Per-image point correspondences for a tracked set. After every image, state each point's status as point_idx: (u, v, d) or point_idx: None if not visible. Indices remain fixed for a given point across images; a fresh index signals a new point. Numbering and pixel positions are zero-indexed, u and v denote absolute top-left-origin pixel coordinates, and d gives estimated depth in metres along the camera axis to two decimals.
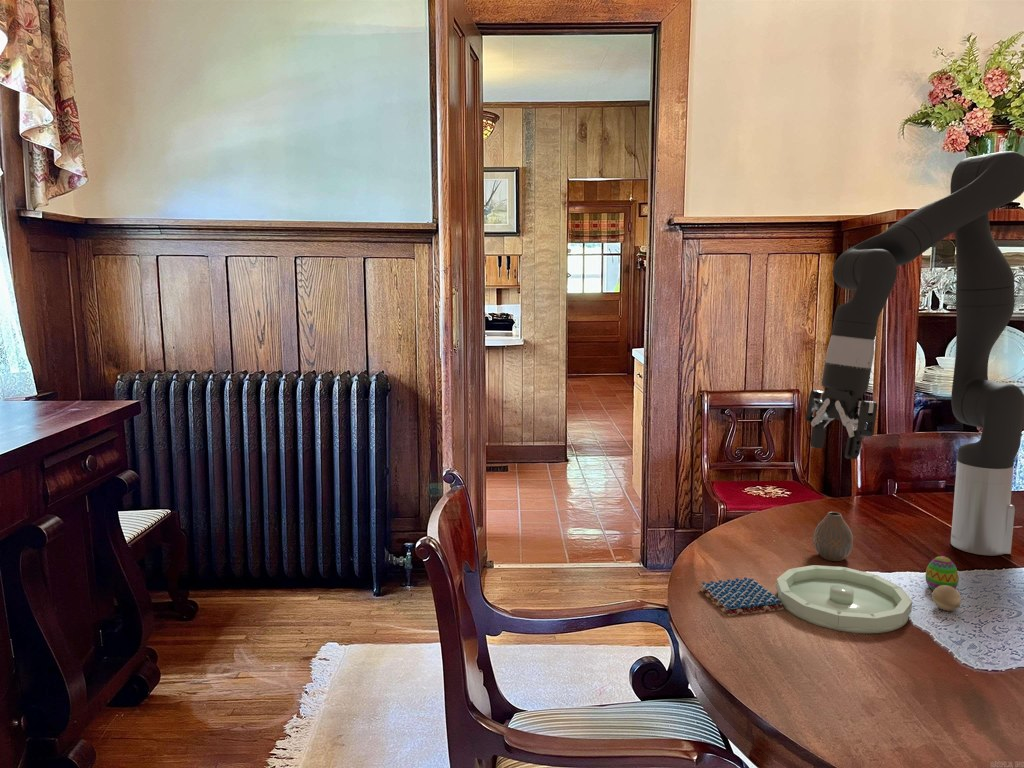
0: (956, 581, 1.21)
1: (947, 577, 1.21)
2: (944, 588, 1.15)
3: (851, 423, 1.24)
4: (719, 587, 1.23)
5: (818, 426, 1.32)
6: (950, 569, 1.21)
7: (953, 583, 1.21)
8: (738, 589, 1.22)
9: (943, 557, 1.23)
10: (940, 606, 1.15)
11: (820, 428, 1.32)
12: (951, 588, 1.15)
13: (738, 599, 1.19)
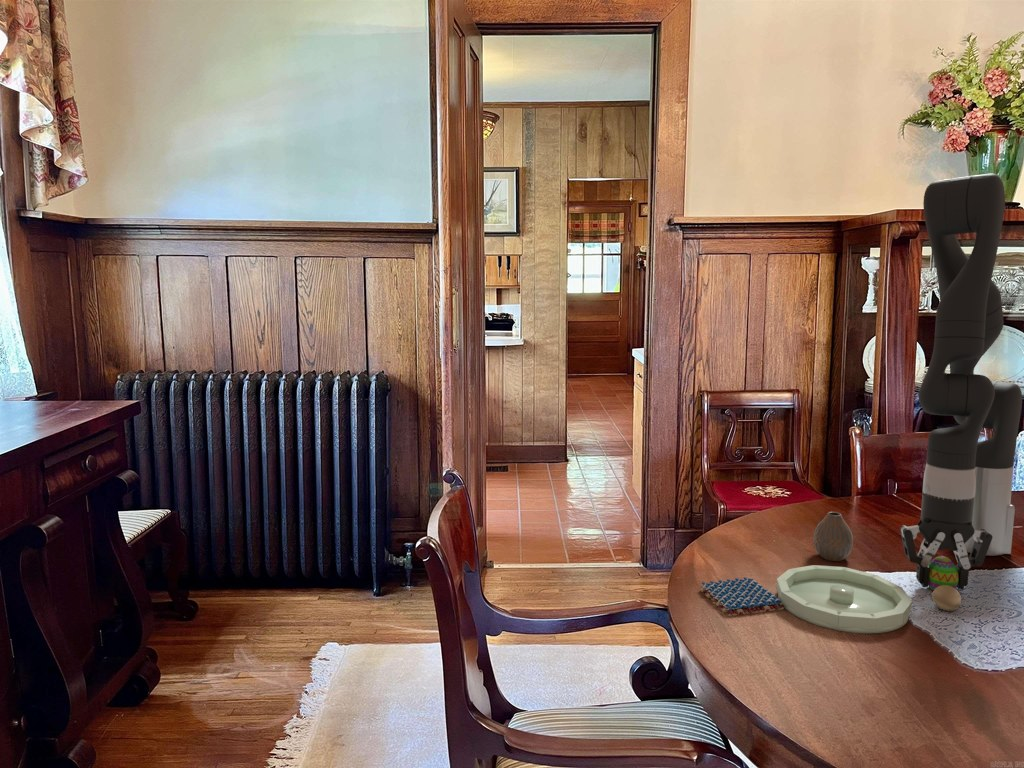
0: (956, 581, 1.21)
1: (947, 577, 1.21)
2: (944, 588, 1.15)
3: None
4: (719, 587, 1.23)
5: None
6: (950, 569, 1.21)
7: (953, 583, 1.21)
8: (738, 589, 1.22)
9: (943, 557, 1.23)
10: (940, 606, 1.15)
11: None
12: (951, 588, 1.15)
13: (738, 599, 1.19)
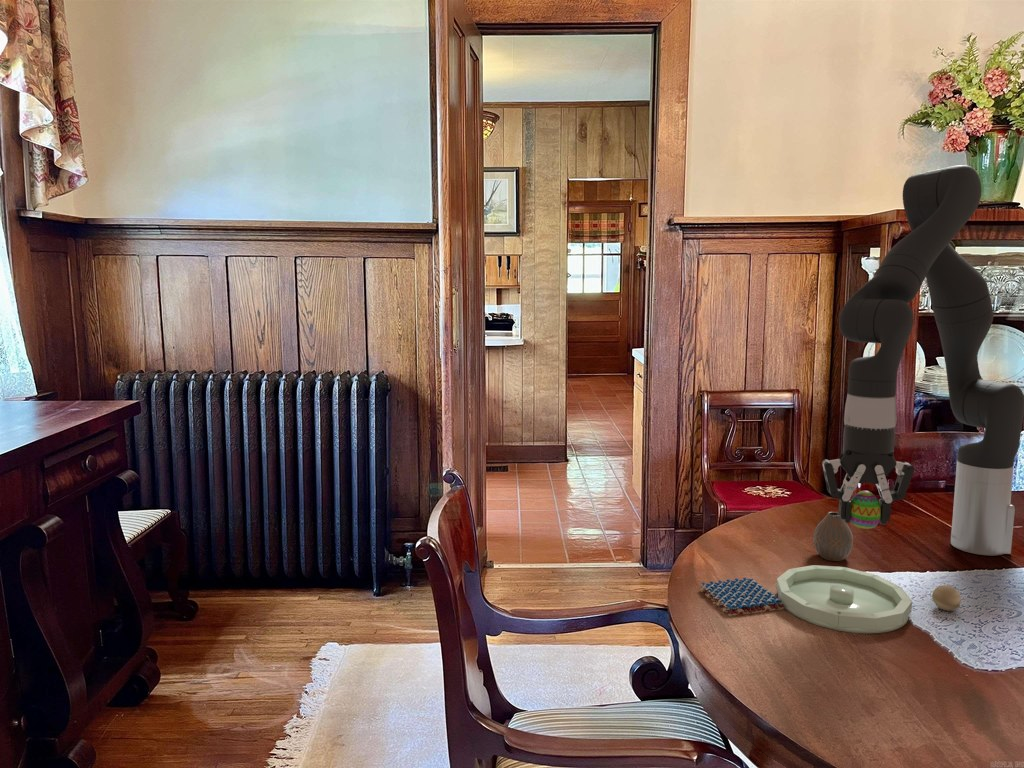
0: (878, 515, 1.17)
1: (868, 511, 1.17)
2: (944, 588, 1.15)
3: (888, 488, 1.17)
4: (719, 587, 1.23)
5: None
6: (871, 503, 1.17)
7: (875, 517, 1.17)
8: (738, 589, 1.22)
9: (865, 491, 1.19)
10: (940, 606, 1.15)
11: (849, 500, 1.19)
12: (951, 588, 1.15)
13: (738, 599, 1.19)
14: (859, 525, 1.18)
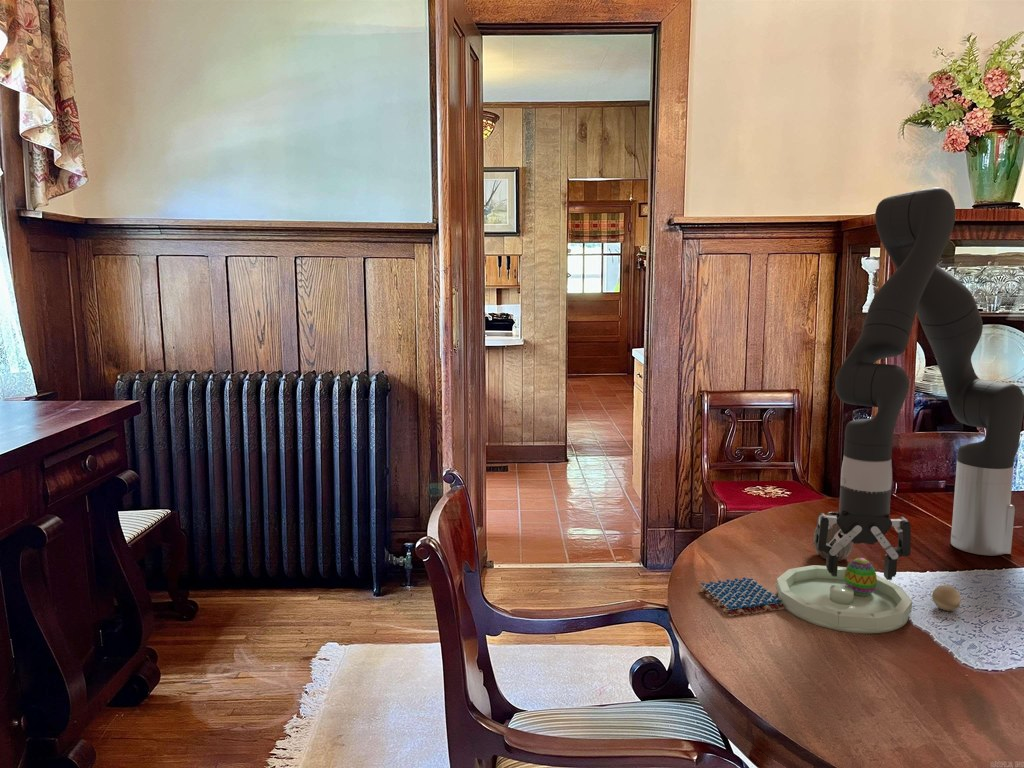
0: (873, 583, 1.19)
1: (864, 579, 1.19)
2: (944, 588, 1.15)
3: None
4: (719, 587, 1.23)
5: None
6: (867, 571, 1.19)
7: (870, 585, 1.19)
8: (738, 589, 1.22)
9: (861, 559, 1.20)
10: (940, 606, 1.15)
11: (836, 554, 1.21)
12: (951, 588, 1.15)
13: (739, 599, 1.19)
14: (855, 592, 1.20)
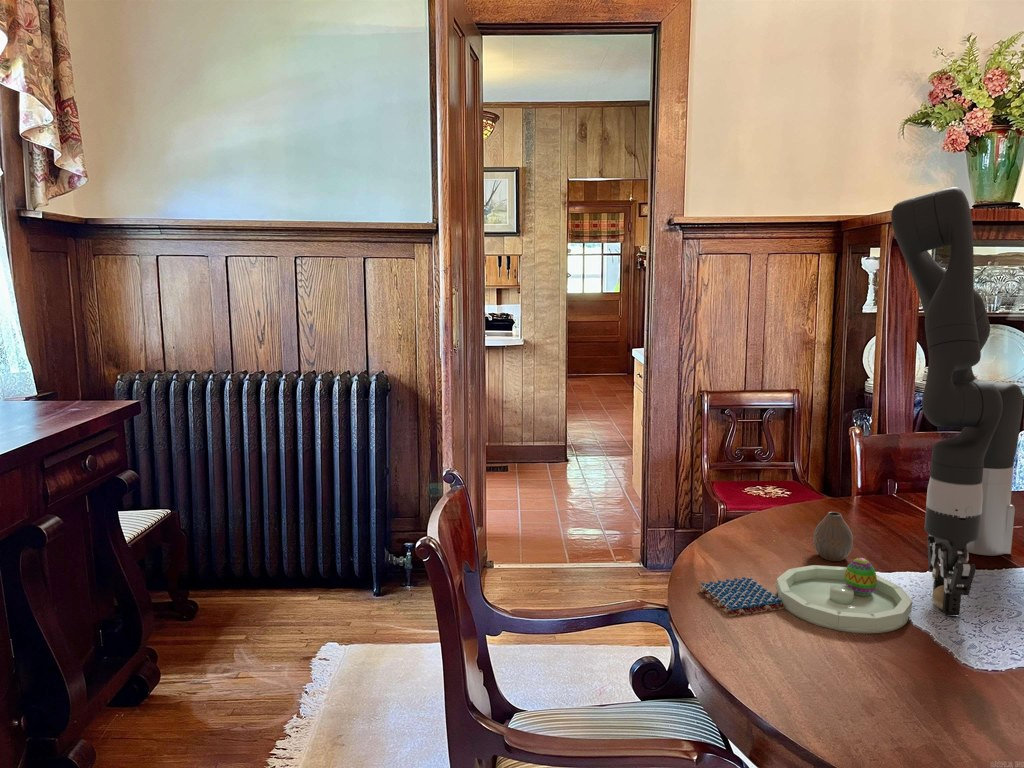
0: (873, 583, 1.19)
1: (864, 579, 1.19)
2: None
3: None
4: (719, 587, 1.23)
5: None
6: (867, 571, 1.19)
7: (870, 585, 1.19)
8: (738, 589, 1.22)
9: (861, 559, 1.20)
10: (940, 606, 1.15)
11: None
12: None
13: (739, 599, 1.19)
14: (855, 592, 1.20)
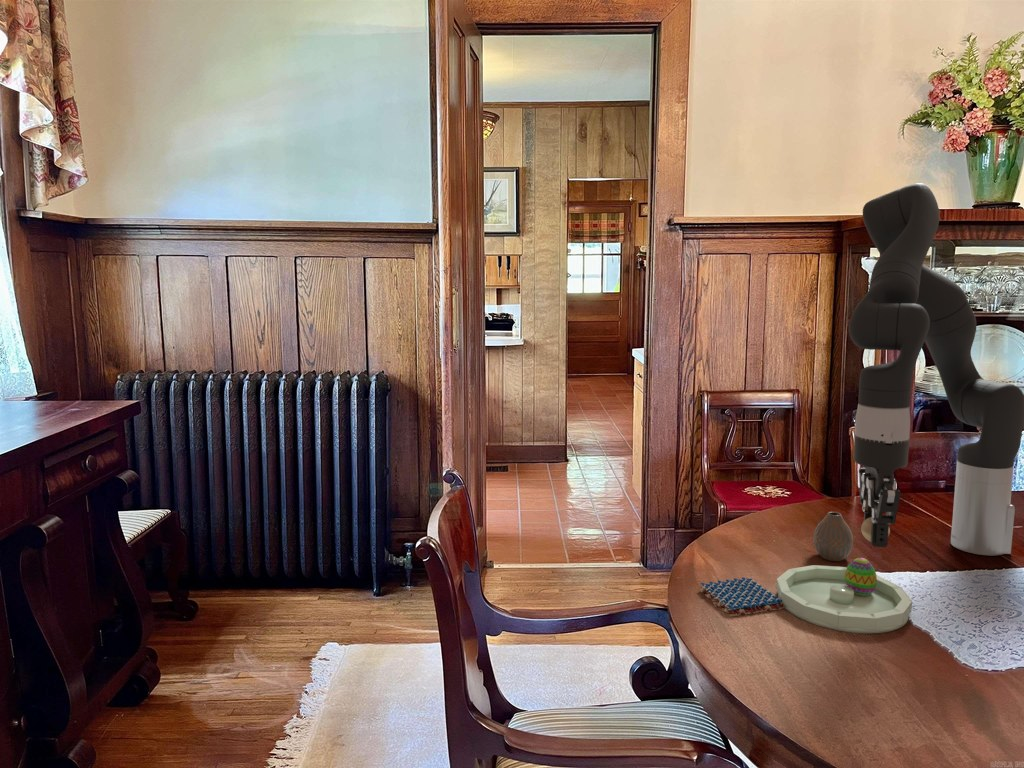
0: (873, 583, 1.19)
1: (864, 579, 1.19)
2: None
3: None
4: (719, 587, 1.23)
5: None
6: (867, 571, 1.19)
7: (870, 585, 1.19)
8: (738, 589, 1.22)
9: (861, 559, 1.20)
10: (868, 538, 1.12)
11: None
12: None
13: (739, 599, 1.19)
14: (855, 592, 1.20)
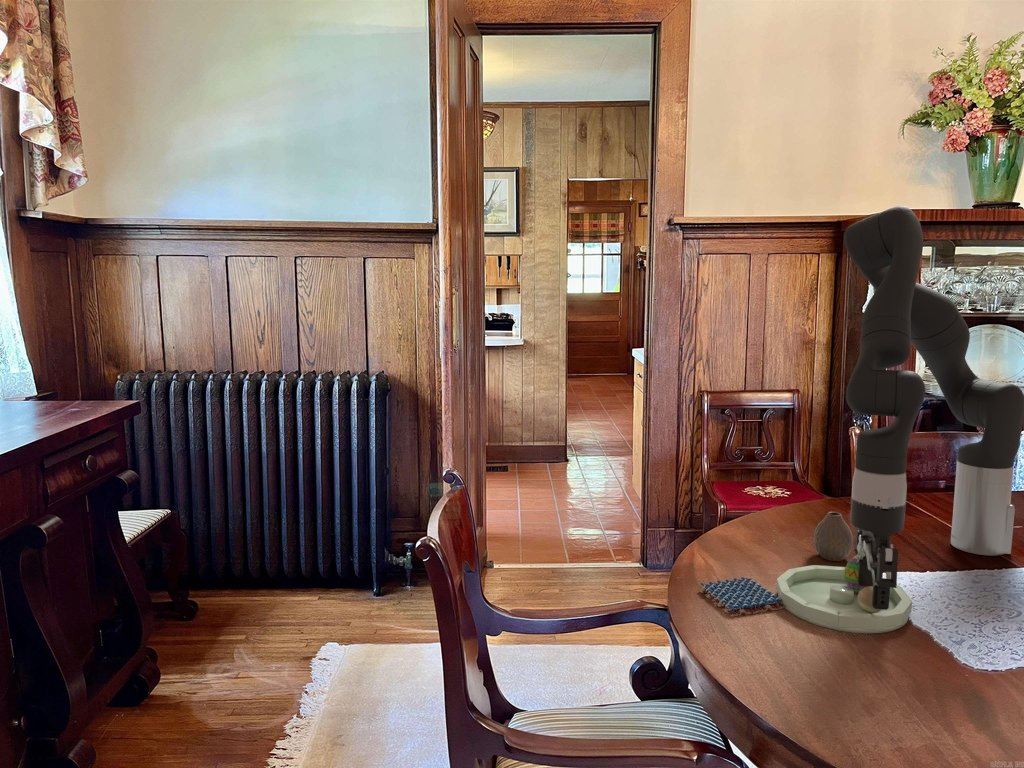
0: None
1: None
2: (868, 590, 1.14)
3: None
4: (719, 588, 1.23)
5: None
6: None
7: None
8: (738, 589, 1.22)
9: None
10: (864, 608, 1.13)
11: None
12: None
13: (739, 599, 1.19)
14: (855, 589, 1.20)
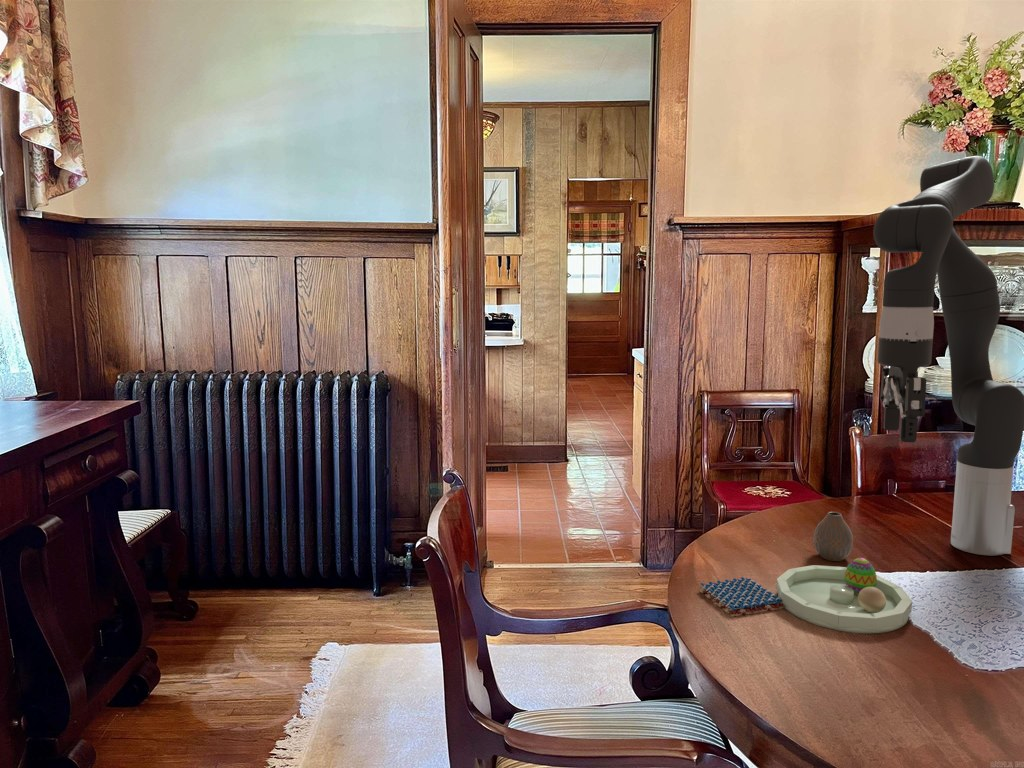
0: (874, 583, 1.19)
1: (864, 579, 1.19)
2: (869, 590, 1.13)
3: None
4: (719, 588, 1.23)
5: None
6: (867, 571, 1.19)
7: (870, 585, 1.19)
8: (738, 589, 1.22)
9: (861, 559, 1.20)
10: (865, 608, 1.13)
11: None
12: (876, 590, 1.13)
13: (740, 599, 1.19)
14: (855, 592, 1.20)
